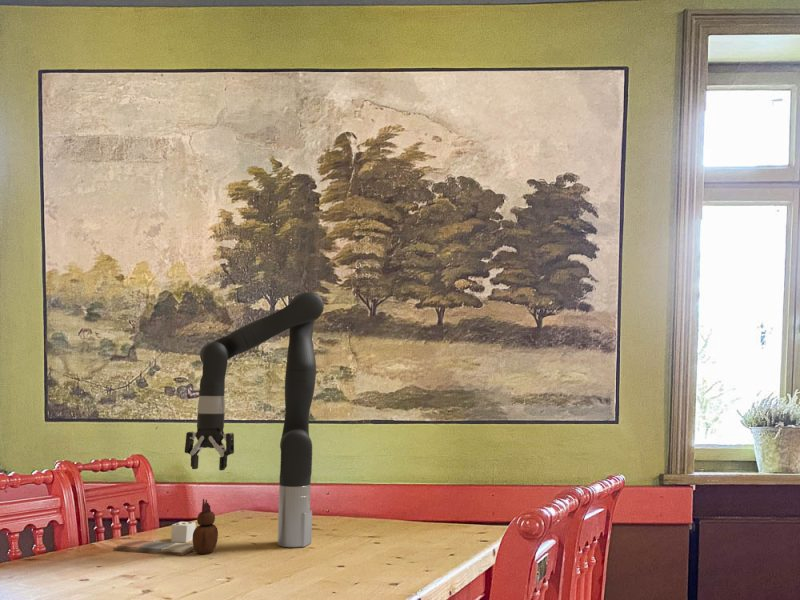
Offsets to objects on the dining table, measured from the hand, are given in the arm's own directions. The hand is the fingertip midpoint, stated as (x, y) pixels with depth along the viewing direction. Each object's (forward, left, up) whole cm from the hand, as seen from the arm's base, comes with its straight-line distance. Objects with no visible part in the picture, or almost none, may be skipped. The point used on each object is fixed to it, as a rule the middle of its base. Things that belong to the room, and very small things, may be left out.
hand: (208, 469), depth 194 cm
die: (+14, -12, -23) cm, 29 cm away
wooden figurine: (0, 0, -23) cm, 23 cm away
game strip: (+15, 0, -23) cm, 27 cm away
